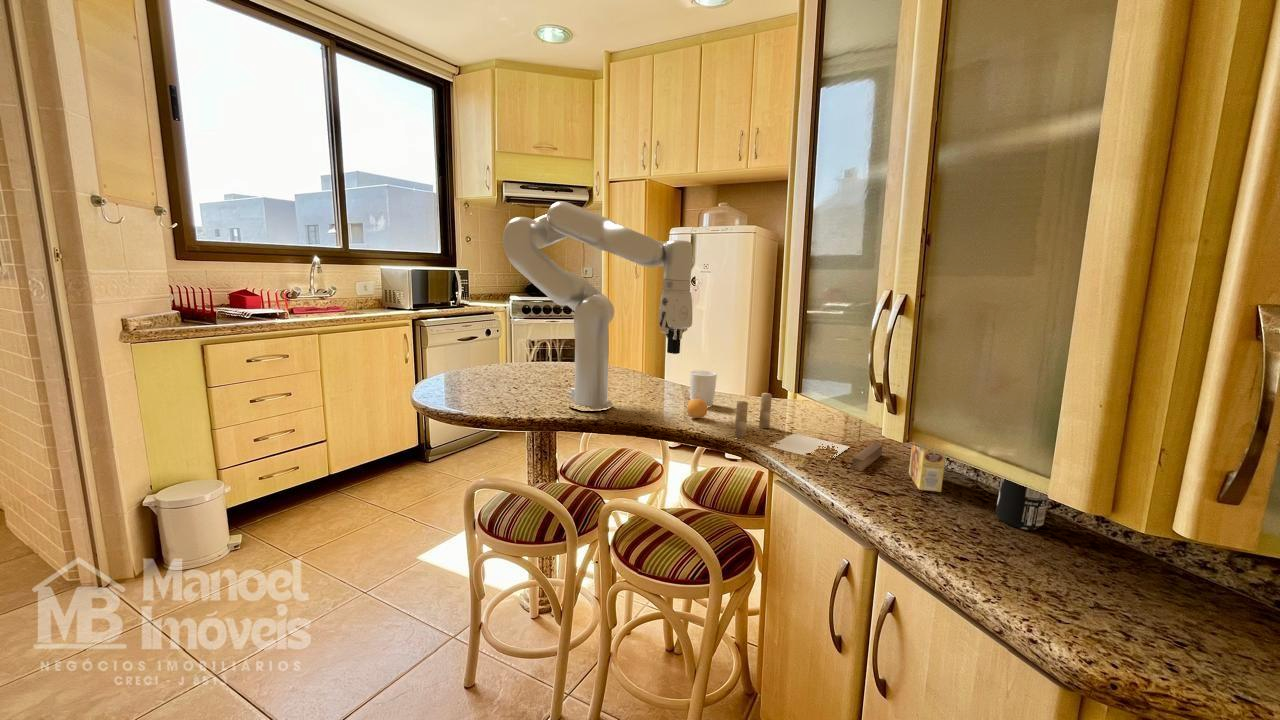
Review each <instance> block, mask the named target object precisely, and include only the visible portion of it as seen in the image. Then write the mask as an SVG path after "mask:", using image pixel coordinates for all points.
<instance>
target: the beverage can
mask: <svg viewBox="0 0 1280 720" xmlns="http://www.w3.org/2000/svg"><path fill="white" fill-rule="evenodd" d="M997 496H998V497H997V502H996V507H995V508H996V509H995V514H996V516H997V517H998V519H999V520H1000V521H1001V522H1002V523H1004V524H1007V525H1008V526H1012V527H1015V528H1017V529H1022V530H1029V531H1033V530H1038V529H1039V528H1041V527H1043V526H1044V524H1045V518H1046V512H1047V508H1048V507H1047V506H1048V501H1049V497H1047V496H1046V495H1044V494H1042V493H1039V492H1036V491H1033V490H1031V489H1029V488H1027V487H1024V486H1021V485H1018V484H1016V483H1013V482H1011V481H1008V480H1006V479H1003V478H1001V477H1000V484H999V490H998V495H997Z"/></svg>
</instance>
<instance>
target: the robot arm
mask: <svg viewBox="0 0 1280 720" xmlns="http://www.w3.org/2000/svg"><path fill="white" fill-rule="evenodd" d="M567 238H571V239H573V240H575V241H578V242H580V243H582V244H585V245H588V246H589V247H592V248H594V249H597V250H600V251H604V252H606V253H607V252H608V253H611V254H613V255H616V256H618V257H620V258H623V259H625V260H628V261H630V262H632V263H635V264H637V265H640V266H642V267H645V268H646V267H647V268H656V267H663V271H662V275H663V276H662V292H661V296H660V302H659V303H660V304H659V311H658V325H659V327H660V333H662V334H664V335H665V336H666V337H665V338H666V339H667V345H666V348H667V349H666V351H667V354H673V355H678V354H680V353H681V340H682V338H683V334H684V333H685V332H687V331H688V328H691V327H692V325H693V296H692V292H691V283H692V282H691V281H692V279H691V277H692V260H693V245H692V242H690V241H688V240H682V239H681V240H678V239H675V240H673V239H671V240H668V241H662V240H657V239H655V238H653V237H651V236H649V235H646V234H643V233H640V232H639V231H636V230H633V229H630V228H628V227H626V226H623V225H621V224H618V223H617V222H615V221H613V220H612V219H611V218H608V217H605V216H603V215H600V214H597V213H595V212H592V211H590V210H587V209H585V208H582V207H581V206H577V205H575V204H573V203H570V202H569V201H568V202H567V201H556V202H554V203H552V204H551V205H550V207H549V208H548V210H547V213H546V214H545V215H542V216H539V217H537V218H534V219H532V218H529V217H527V216H516V217H514V218H512V219H510V220H509V221H508V222H507V223H506V225H505V227H504V229H503V233H502V246H503V247H502V248H503V250H504V254H505V256H506V257H507V259H508V261H509V263H510V264H511V265H512V266H513V267H514V268H515V270H516V271H518V272H519V273H520V274H521V275H523V276H524V277H525V278H526V279H527V280H528V281H529V282H530V283H531V284H533V286H535V287H536V288H537V289H539V291H540V292H541V293H543V294H544V295H545V296H547V298H549V299H550V301H552V302H553V303H554V304H556V305H558V306H567V307H569V309H571V310H572V311H574V312H573V328H574V387H571V388H570V389H569V390H568V391H567V392H566V395H567V396H571V400H572V401H574V403H575V404H577V405H580V406H585V407H589V408H590V409H603V408H608V407H611V406H612V405H613V402H612V401H611V400H609V399H608V393H609V392H608V390H609V348H610V347H609V346H610V345H609V343H610V342H609V340H610V338H609V336H610V335H609V324H610V323H611V322H612V320H613V319H614V316H615V308H614V304H613V303H612V301H611V300H610V299H609V298H608V297H607V296H606V295H604V294H603V293H602V292H601V291H600V290H598V288H596V287H595V285H592V283H590V282H589V281H588V280H586V279H585V278H584V277H583V276H581V275H580V274H578V273H576V272H573V271H566V270H565V269H563V268H562V267H561V266H559V265H558V264H557V263H556V262H555V261H553V260H552V259H551V258H550V257H549V256H548V255H546V254H545V253H544V252H542V251H541V249H543V248H546V247H548V246H551V245H553V244H556V243H558V242H560V241H563V240H565V239H567ZM612 407H613V406H612Z"/></svg>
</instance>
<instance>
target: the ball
mask: <svg viewBox="0 0 1280 720" xmlns="http://www.w3.org/2000/svg"><path fill="white" fill-rule="evenodd" d="M686 412H687V415H688V416H689V417H690V418H692V417H693V418H692V419H694V418H701V419H702V418H704V417H705V416H706V415H707V413H708V408H707V404H706V403H705V402H704V401H703V400H702V399H698V398H696V399H693V400H691V399H690V401H689V402H688V403H687V405H686Z"/></svg>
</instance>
